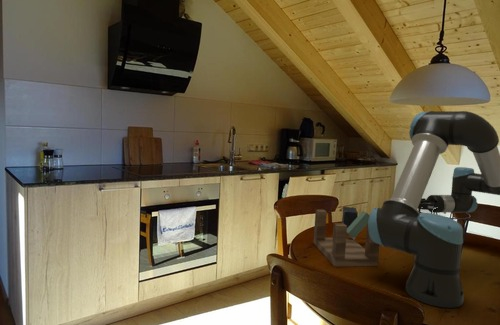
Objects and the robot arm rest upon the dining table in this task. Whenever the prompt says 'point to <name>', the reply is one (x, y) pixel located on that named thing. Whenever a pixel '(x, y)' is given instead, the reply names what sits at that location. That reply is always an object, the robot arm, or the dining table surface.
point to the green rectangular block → (358, 225)
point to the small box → (349, 215)
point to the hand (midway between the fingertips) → (387, 203)
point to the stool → (343, 245)
